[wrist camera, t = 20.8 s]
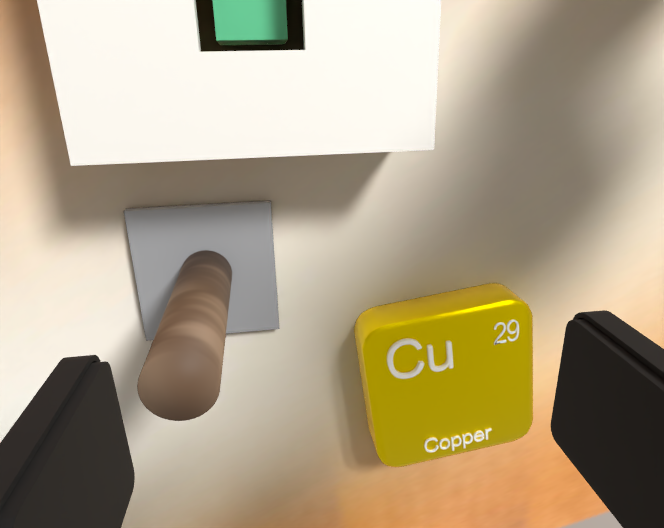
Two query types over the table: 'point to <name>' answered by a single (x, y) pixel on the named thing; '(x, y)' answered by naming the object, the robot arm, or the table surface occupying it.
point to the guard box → (241, 82)
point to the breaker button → (250, 22)
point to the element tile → (446, 373)
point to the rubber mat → (214, 235)
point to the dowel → (189, 341)
